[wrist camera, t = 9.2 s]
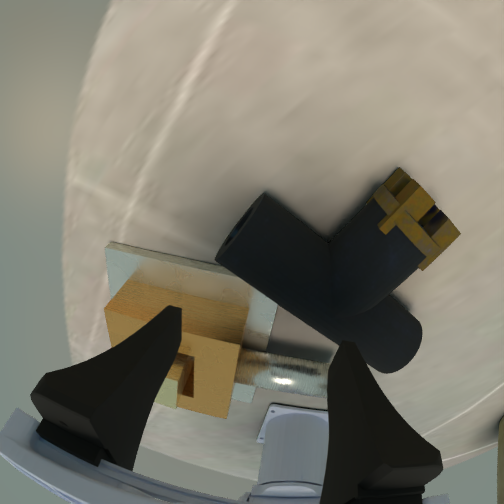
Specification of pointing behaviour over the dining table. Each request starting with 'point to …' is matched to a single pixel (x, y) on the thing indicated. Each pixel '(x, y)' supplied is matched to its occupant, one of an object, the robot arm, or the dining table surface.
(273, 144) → the dining table surface
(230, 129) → the dining table surface
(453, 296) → the dining table surface
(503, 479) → the plant pot
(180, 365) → the pale wooden brick
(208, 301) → the wooden slotted box
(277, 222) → the pipe connector
